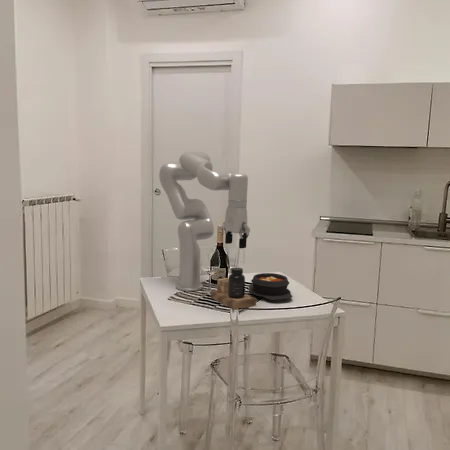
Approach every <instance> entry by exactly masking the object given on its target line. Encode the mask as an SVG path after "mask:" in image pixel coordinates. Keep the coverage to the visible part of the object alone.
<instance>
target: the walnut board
mask: <svg viewBox="0 0 450 450" xmlns="http://www.w3.org/2000/svg"><path fill="white" fill-rule="evenodd" d="M210 299H212V300H214V301H216V302H218V303H220V304H222V305H223V306H225V307H228V308H230V309H232V308H233V309H232V310H234V309H235V310H240V309H239V308H241V309H245V308H251V307H255V306H257V298H256V297H254V296H251V295H249V294H247V293H244V297H243V298H240V299H234V298H230V297H229V296H228V293H222V292H219V291H217V289H215V290H211V291H210Z"/></svg>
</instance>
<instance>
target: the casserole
mask: <svg viewBox="0 0 450 450" xmlns="http://www.w3.org/2000/svg"><path fill="white" fill-rule="evenodd" d="M250 283H251V284H249V285H248V288H249V290H248V291H249V293H251V294H252V295H254V296H257V297H260V298H264V299H267V300H271V301H272V300H273V301H279V300H280V301H281V300H283V301H284V300H288V299H291V298H292V297H293V295H292V293H291V290H290V289H289V288H288V287H289V284H290V281H289V280H288V277H287V276H285V275H283V274H280V273H273V272H263V273H257V274H254V275H253V277H252V279H251V281H250Z"/></svg>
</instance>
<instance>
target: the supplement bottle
mask: <svg viewBox="0 0 450 450" xmlns="http://www.w3.org/2000/svg"><path fill="white" fill-rule="evenodd" d="M243 271H244V270H243V268H242V267H232V268H231V269H230V274H229V275H228V279H229V282H228V296H229V297H230V298H234V299H240V298H243V297H244V293H245V287H246V285H245V284H246V277H245V275H244V274H243V273H244V272H243ZM245 294H246V293H245Z"/></svg>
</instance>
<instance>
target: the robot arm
mask: <svg viewBox="0 0 450 450" xmlns="http://www.w3.org/2000/svg"><path fill="white" fill-rule="evenodd" d="M213 167H214V166H213V163H212V162H211V157H210V156H209V155H208V154H207V153H205V152H203V151H186V152H183V153H182V154H181V155H180V156H179V159H178V161H176V162H175V161H171V162H166V163H164V164H162V166H161V167H160V168H159V175H158V176H159V182H160V185H161V187H162V188H163V191H164V192H165V195H166V196H167V198H168V201H169V204H170V206H171V209H172V213H173V214H174V216H175V218H176V219H177V220H181V221H182V222H180V223H179V224H178V226H177V234H178V240H179V241H178V242H179V275H178V277H177V279H178V281H179V282H178V283H176V284H175V288H176V289H177V290H180V291H184V292H185V291H186V292H195V291H200V290H202V289H203V288H204V285H203V283H201V247H200V246H199V244H198V241H201V240H208V239H211V238H212V237H213V235H214V233H215V227H214V224H213V220H212V218H211V216H210V213H209V211H208V208H207V205H206V204H205V203H204V201H202V200H201V199H198V198H190V197H188V195H187V193H186V190H185V189H184V187H183V186H182V185H181V184H180V183H178V182H177V181H193V180H194V179H196V178H197V181H198V183H199V184H200V185H201V186H202V187H204V188H206V189H209V190H211V191H228V194H227V196H228V198H227V200H228V201H227V207H226V210H225V218H224V222H223V230H224V234H225V238H224V239H225V241H224V242H225V244H227V245H228V244H229V245H230V244H232V243H233V233H234V234H238V235H239V237H240V238H239V239H238V240H239V242H238V248H239V249H246V248H247V239H248V237H249V235H250V232H251V228H250V227H249V226H248V210H247V208H248V207H247V205H248V204H247V203H248V201H247V200H248V185H249V183H248V182H249V178H248V177H249V176H248V175H247V174H245V173H236V172H232V171H213Z"/></svg>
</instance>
